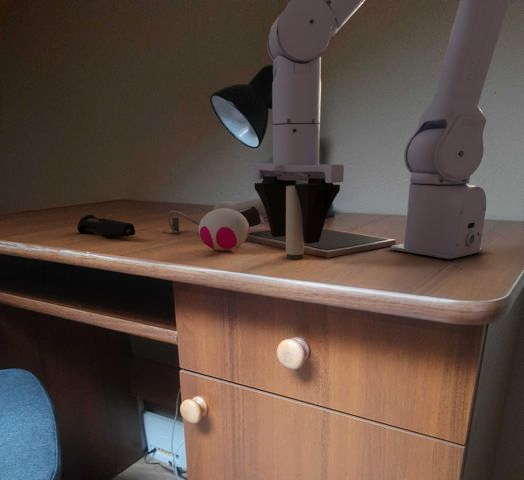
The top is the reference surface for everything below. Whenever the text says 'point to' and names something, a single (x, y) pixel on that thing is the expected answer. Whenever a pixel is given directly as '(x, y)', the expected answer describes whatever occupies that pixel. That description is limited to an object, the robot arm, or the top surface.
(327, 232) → the tablet
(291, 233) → the beige cylinder
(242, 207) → the white corded device
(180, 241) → the top surface
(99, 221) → the electric trimmer
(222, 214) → the stress ball
